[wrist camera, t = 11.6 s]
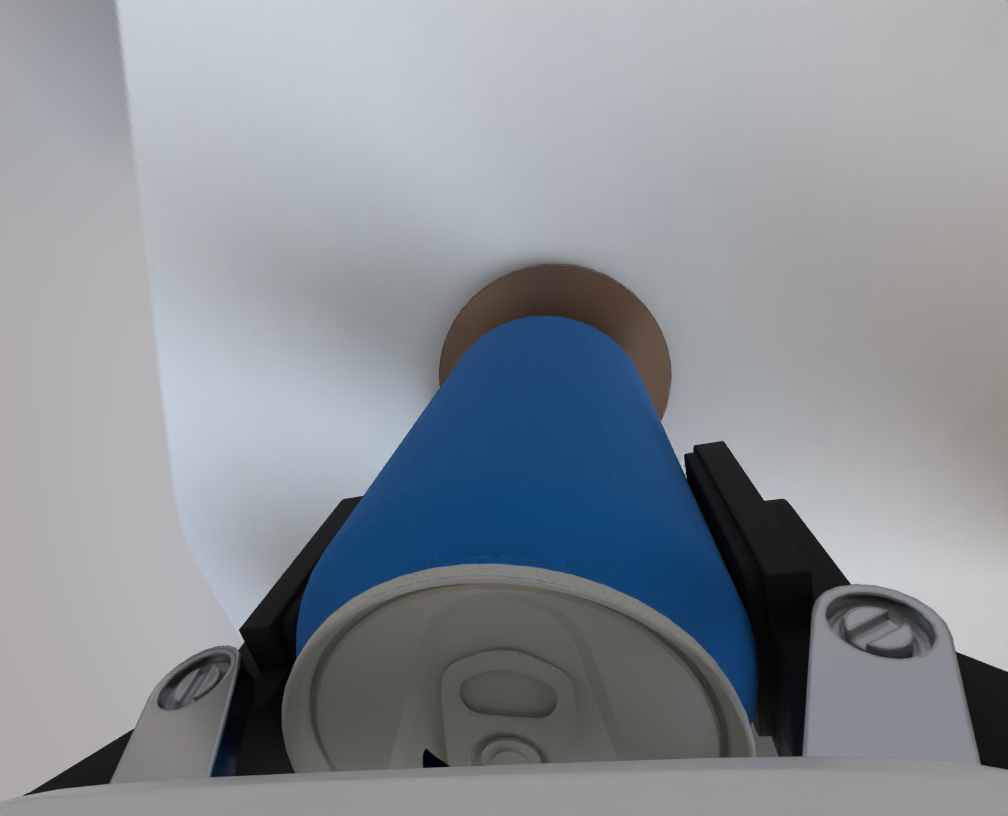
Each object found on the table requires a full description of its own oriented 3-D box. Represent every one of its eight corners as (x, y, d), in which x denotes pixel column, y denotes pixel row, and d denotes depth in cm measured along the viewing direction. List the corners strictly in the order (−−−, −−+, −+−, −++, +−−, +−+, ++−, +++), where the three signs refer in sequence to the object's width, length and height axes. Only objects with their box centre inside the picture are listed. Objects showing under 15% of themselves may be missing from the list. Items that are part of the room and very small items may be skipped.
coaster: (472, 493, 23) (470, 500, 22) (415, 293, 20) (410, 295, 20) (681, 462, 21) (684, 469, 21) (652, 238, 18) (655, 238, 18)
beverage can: (457, 487, 19) (298, 897, 8) (443, 312, 16) (183, 528, 5) (637, 492, 18) (756, 955, 7) (649, 308, 16) (862, 555, 4)
